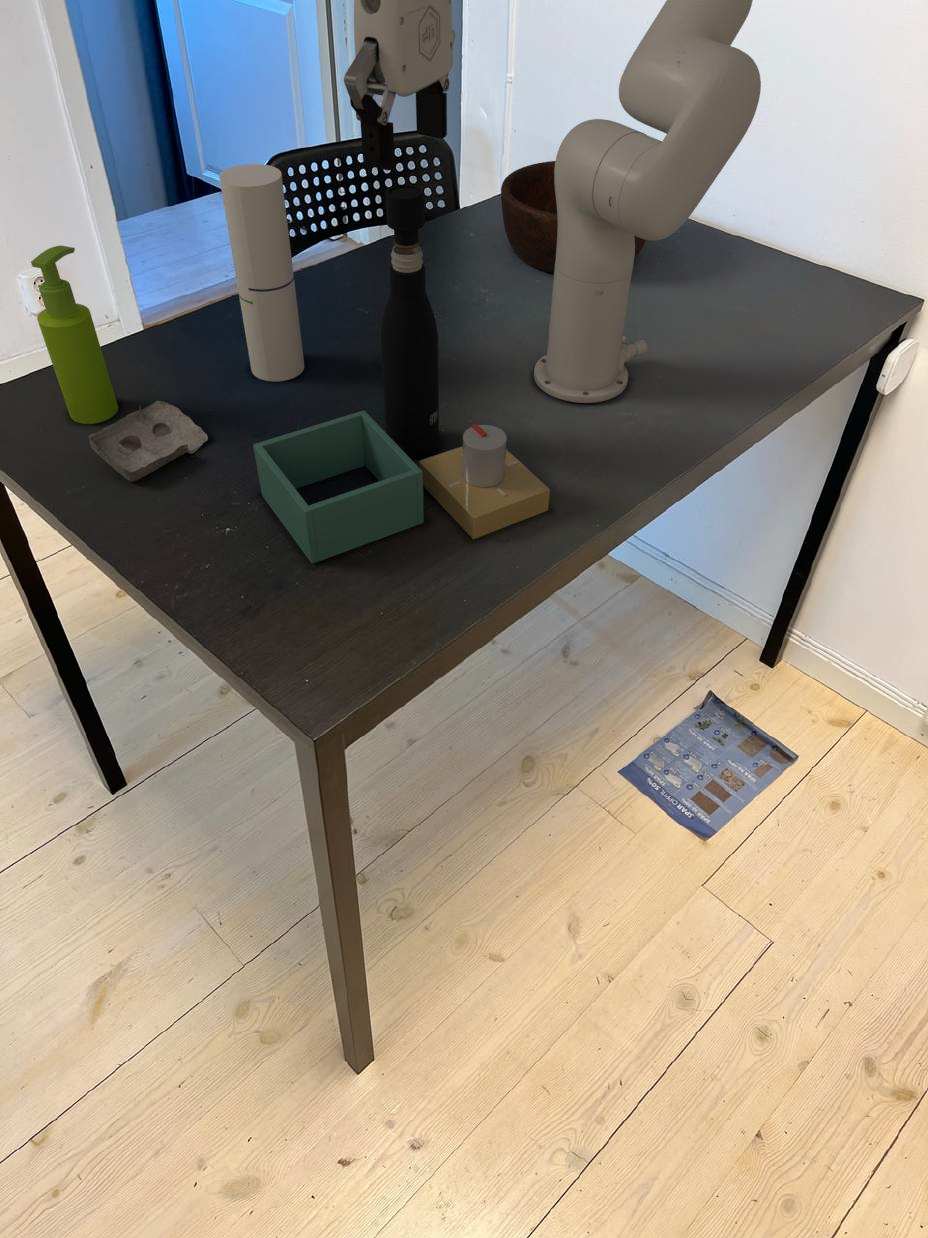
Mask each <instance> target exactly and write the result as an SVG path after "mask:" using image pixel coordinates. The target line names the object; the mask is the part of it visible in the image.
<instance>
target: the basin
mask: <svg viewBox="0 0 928 1238" xmlns="http://www.w3.org/2000/svg"><path fill="white" fill-rule="evenodd" d="M252 447H253V453H254V458H255V459H254V460H255V463H256V470H257V475H258V481H259V486H260V492H261V496H262V497H263V499H264V501H265V502H266V503H267V505H268V506H269V507H270V509H271V510H272V511H273V513H274V514H275V515H276V517H277V518H278V519H279V521H280V522H281V523H282V525H283V527H284V528H285V529H286V530H287V532H288V533H289V535H290V536H291V537H292V539H293V540H294V542H295V543H296V544H297V546H298V547H299V549H300V550H301V551H302V552H303V554H304V555H305V556H306V558H307V559H308V561H309V563H310V564H312V565H313V564H315V563H319V562H322V561H325V560H326V559H327V560H328V559H329V558H332V557H335V556H337V555H340V554H343V553H346V552H348V551H352V550H355V549H356V548H359V547H362V546H364V545H368V544H370V543H372V542H375V541H378V540H382V539H384V538H386V537H389V536H392V535H394V534H398V533H400V532H403V531H405V530H409V529H411V528H413V527H416V526H419V525H422V524H424V522H425V518H424V517H425V515H424V513H425V512H424V486H423V471H422V470H421V469H420V468H419V465H417V464H416V463H415V461H413V459H410V458H409V457H408V456H407V455H406V453H405V452H404V451H403V450H402V449H401V448H400V447H399V446H398V445H397V444H396V443H395V442H394V441H393V440H392V439H391V438H390V437H389V436H388V435H387V434H386V430H384V429H383V428H382V427H381V426H380V425H379V424H378V423H377V422H376V421H375V420H374V419H373V418H372V417H371V415H370V414H369V413H368V412H367V411H366V410H360V411H357V412H354V413H350V414H347V415H344V416H341V417H337V418H334V419H331V420H328V421H325V422H321V423H318V424H315V425H312V426H309V427H305V428H302V429H299V430H295V431H292V432H288V433H285V434H282V435H279V436H276V437H272V438H270V439H266V440H263V441H259V442H256V443H253V445H252ZM362 467H365V468H367V470H368V471H369V472H370V473H371V474H372V475H373V476H374V477H375V478H376V480H377V481H376V482H374V483H370V484H367V485H365V486H361V487H359V488H356V489H353V490H350V491H347V492H345V493H341V494H338V495H336V496H332V497H329V498H327V499H324V500H321V501H318V502H315V503H312V504H310V505H309V504H308V503H307V501H306V500H305V499H304V498H303V496H302V494H301V493H300V492H298V490H297V489H300V488H302V487H306V486H309V485H312V484H314V483H318V482H320V481H323V480H327V479H329V478H332V477H335V476H339V475H342V474H344V473H347V472H351V471H353V470H356V469H360V468H362Z"/></svg>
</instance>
